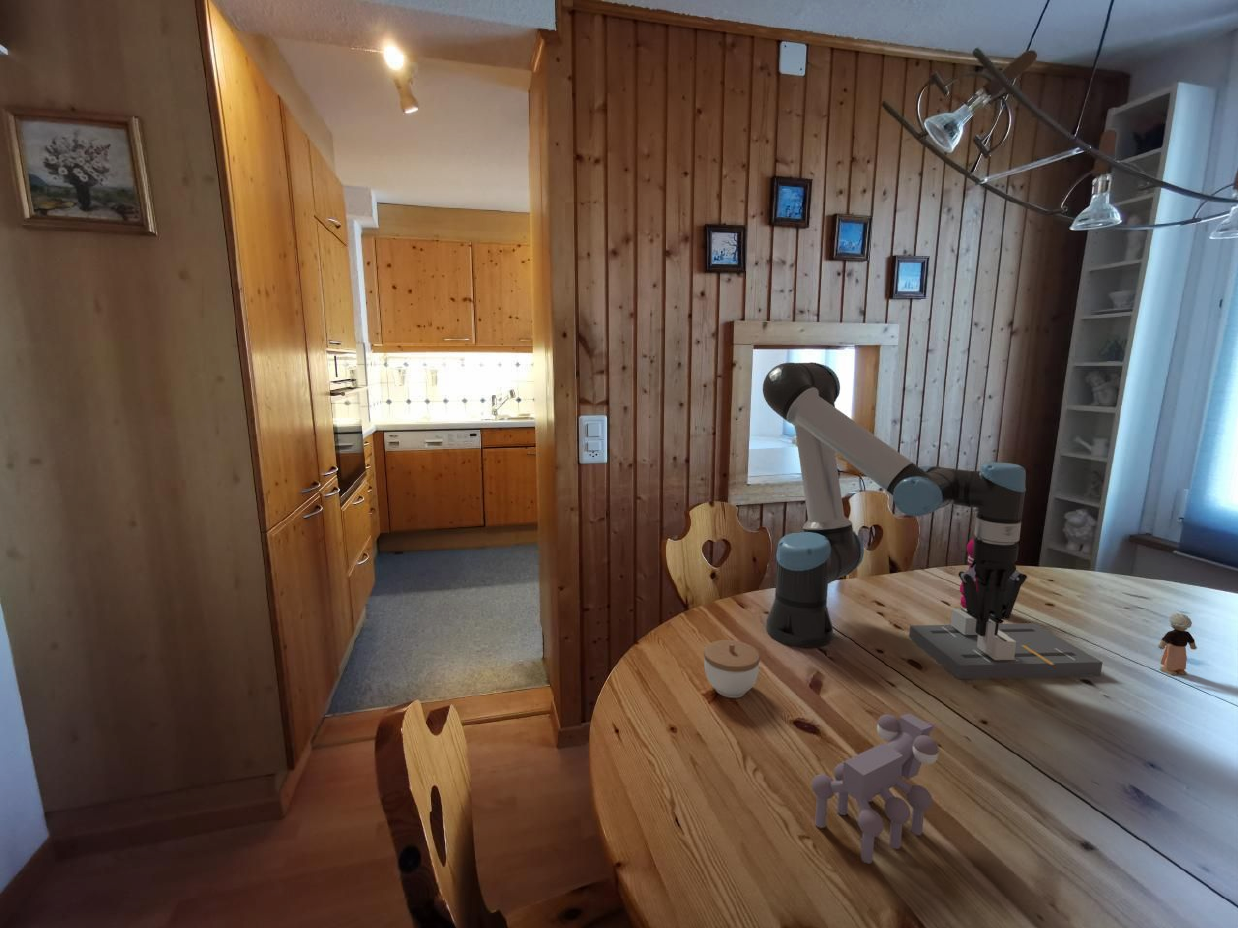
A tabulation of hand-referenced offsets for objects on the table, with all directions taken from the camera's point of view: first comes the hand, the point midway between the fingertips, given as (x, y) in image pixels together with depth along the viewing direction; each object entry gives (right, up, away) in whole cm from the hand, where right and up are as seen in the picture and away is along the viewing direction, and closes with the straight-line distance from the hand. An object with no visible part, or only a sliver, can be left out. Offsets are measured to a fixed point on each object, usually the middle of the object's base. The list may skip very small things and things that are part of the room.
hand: (984, 649), depth 116 cm
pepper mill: (+18, +1, +32) cm, 37 cm away
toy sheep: (-39, -11, -38) cm, 55 cm away
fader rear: (+3, +1, +11) cm, 12 cm away
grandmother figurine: (+39, -5, 0) cm, 39 cm away
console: (+7, -4, +7) cm, 11 cm away
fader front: (+3, -1, +1) cm, 3 cm away
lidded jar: (-54, -6, -6) cm, 55 cm away
